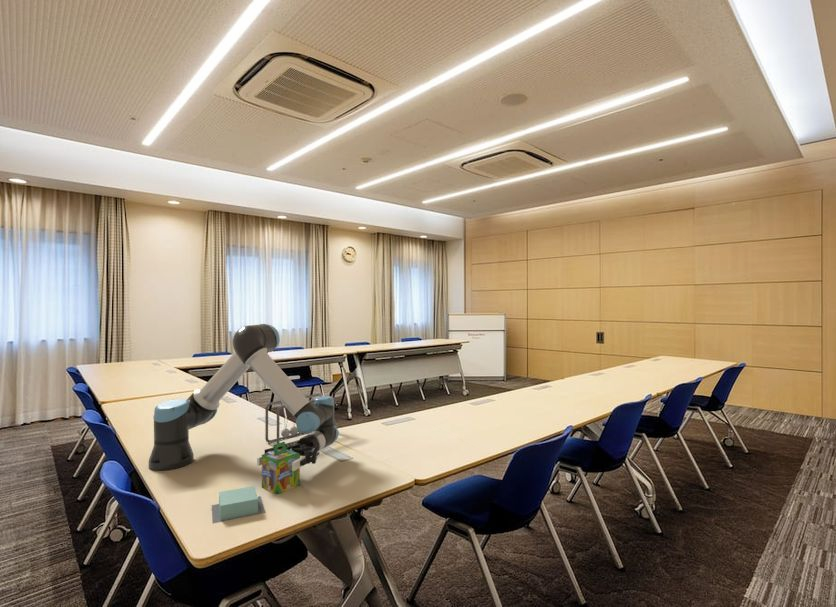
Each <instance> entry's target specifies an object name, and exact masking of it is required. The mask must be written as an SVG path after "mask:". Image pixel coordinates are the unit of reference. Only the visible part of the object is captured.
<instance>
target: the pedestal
mask: <svg viewBox="0 0 836 607" xmlns="http://www.w3.org/2000/svg"><path fill="white" fill-rule="evenodd" d="M258 497H259V496H258V495H257V491H256V488H255V485H251V486H247V487H239V488H234V489H229V490H224V491H219V492H218V504H219V511H220V520H223V519H228V518H233V517H238V516H243V515H248V514H253V513H258Z"/></svg>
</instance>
